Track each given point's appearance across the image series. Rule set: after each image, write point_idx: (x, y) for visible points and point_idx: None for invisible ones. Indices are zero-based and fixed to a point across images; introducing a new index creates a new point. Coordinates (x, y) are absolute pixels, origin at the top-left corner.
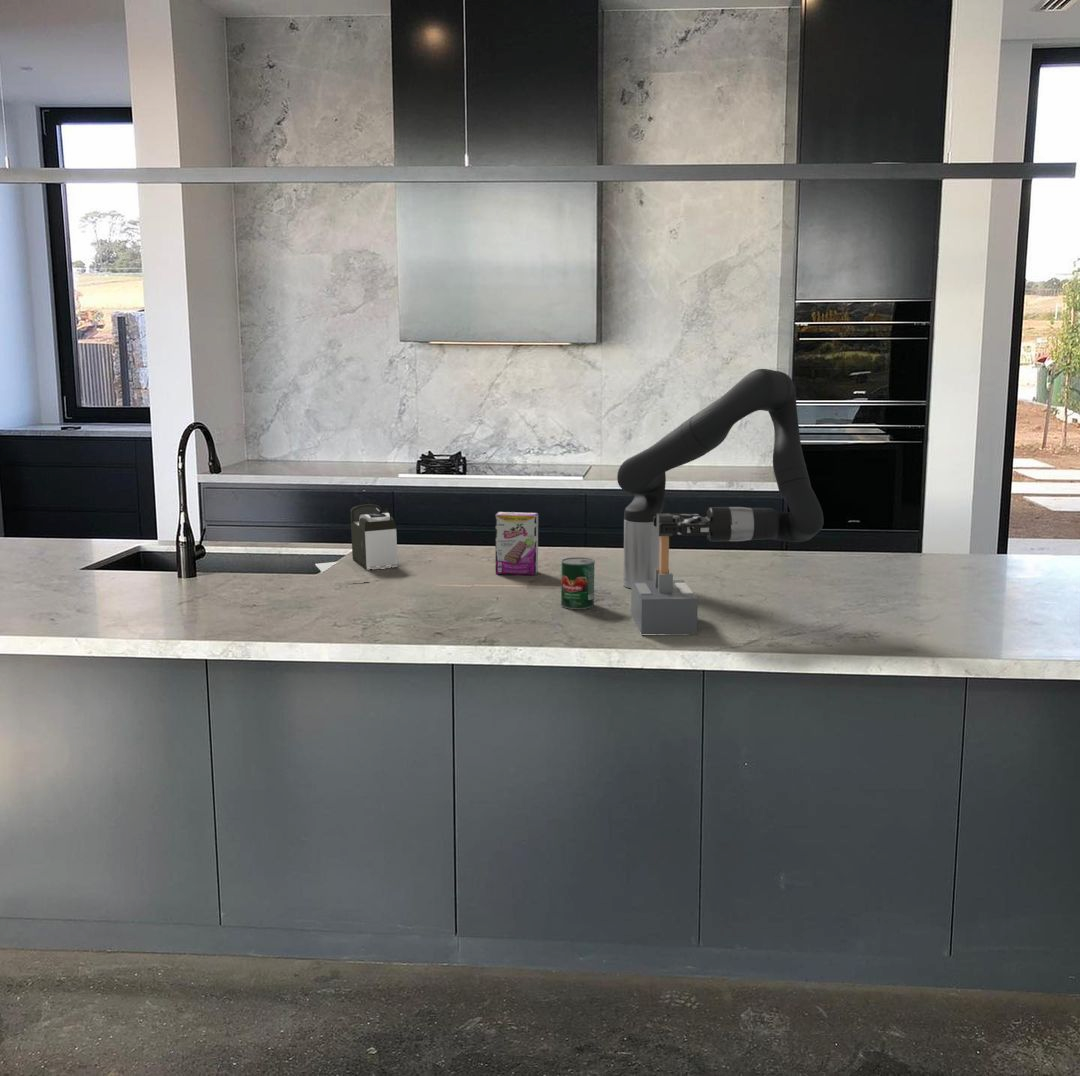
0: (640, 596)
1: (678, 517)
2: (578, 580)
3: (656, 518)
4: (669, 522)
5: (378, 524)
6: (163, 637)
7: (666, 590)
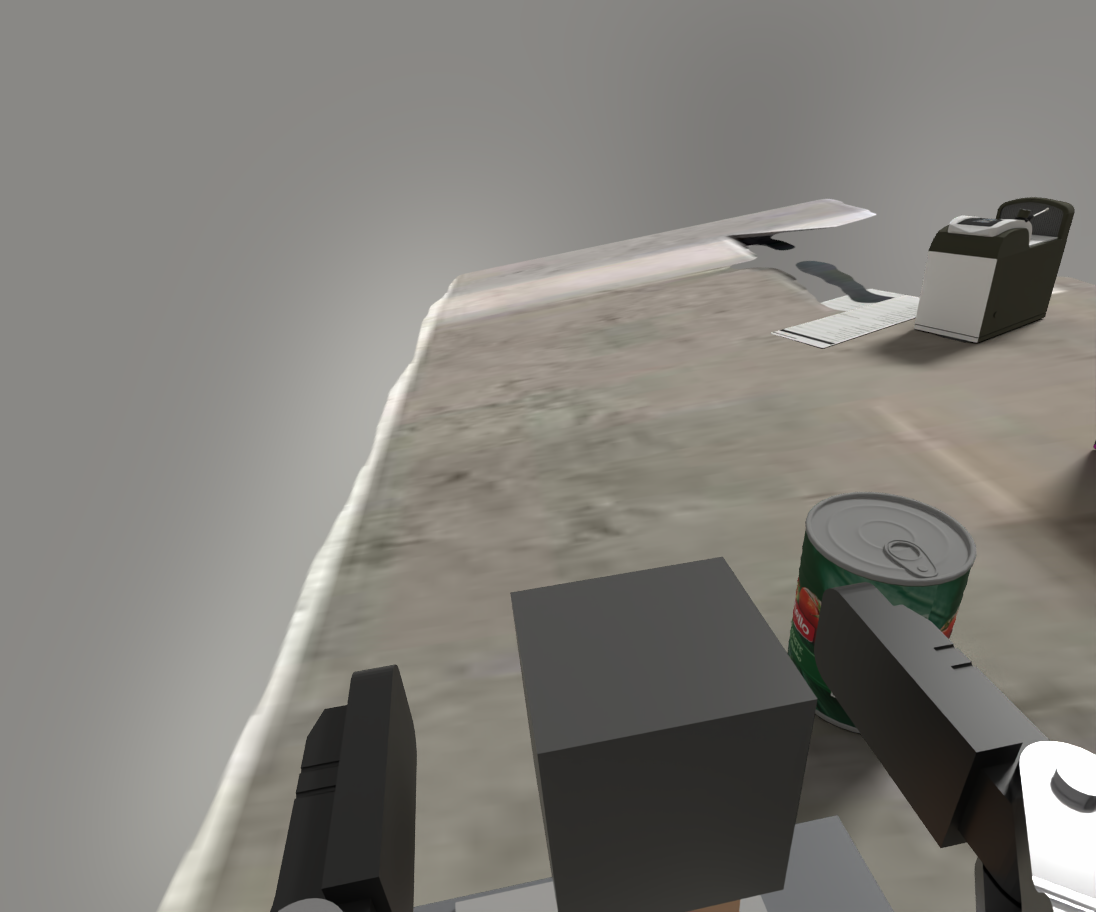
0: (415, 908)
1: (1026, 900)
2: (807, 600)
3: (841, 612)
4: (538, 774)
5: (962, 241)
6: (446, 317)
7: None
